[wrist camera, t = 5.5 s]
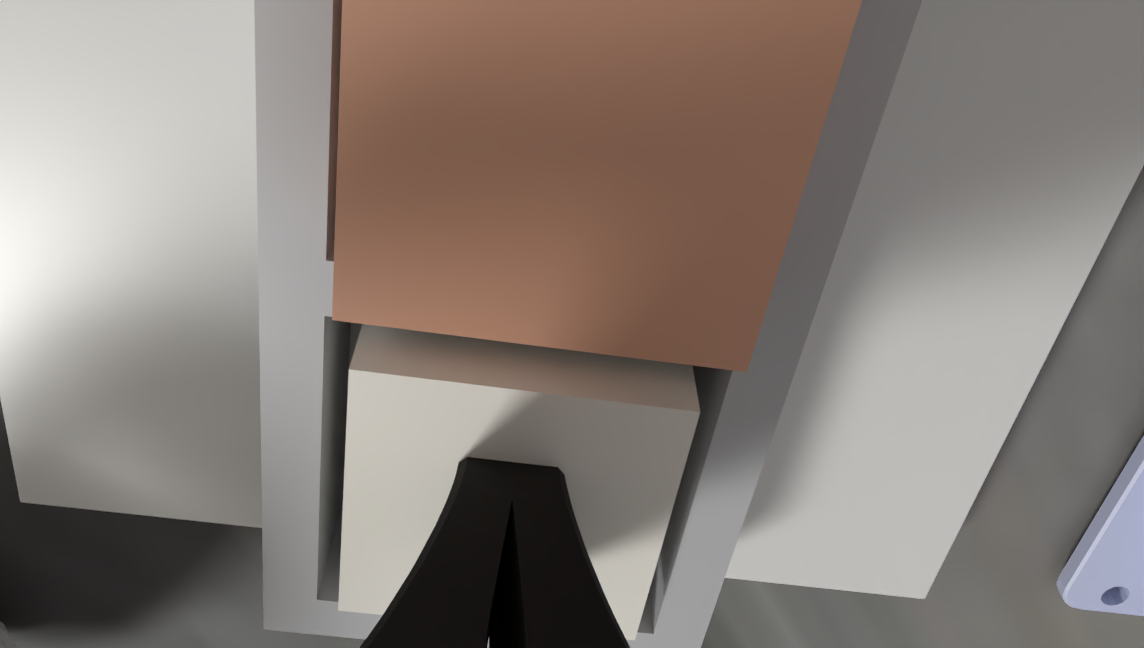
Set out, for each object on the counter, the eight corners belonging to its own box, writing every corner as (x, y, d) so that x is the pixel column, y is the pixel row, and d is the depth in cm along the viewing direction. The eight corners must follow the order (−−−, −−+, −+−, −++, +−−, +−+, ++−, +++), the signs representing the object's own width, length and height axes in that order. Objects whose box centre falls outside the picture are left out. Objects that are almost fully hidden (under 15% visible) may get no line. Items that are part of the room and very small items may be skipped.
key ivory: (683, 316, 15) (700, 411, 13) (627, 533, 17) (634, 641, 15) (377, 276, 14) (348, 369, 13) (363, 505, 17) (337, 610, 15)
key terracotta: (822, -103, 10) (877, -49, 9) (720, 267, 13) (746, 371, 11) (386, -177, 10) (346, -135, 8) (366, 220, 12) (332, 319, 11)
